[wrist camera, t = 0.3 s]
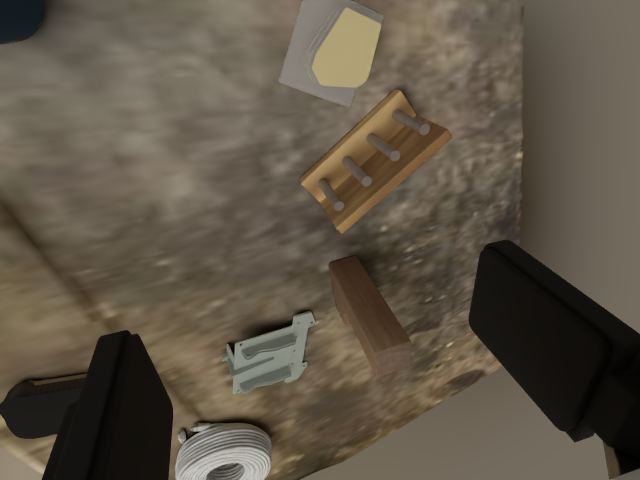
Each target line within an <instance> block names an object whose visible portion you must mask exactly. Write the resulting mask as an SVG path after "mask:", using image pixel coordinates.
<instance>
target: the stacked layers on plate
mask: <svg viewBox="0 0 640 480" xmlns="http://www.w3.org/2000/svg"><path fill="white" fill-rule="evenodd" d="M383 18H384V16H383V15H381V14H379V13H377V12H375V11H373V10H371V9H369V8H367V7H365V6H363V5H361V4H359V3H357V2H355V1H353V0H302V3H301V6H300V10H299V13H298V17H297V20H296V24H295V27H294V30H293V34H292V37H291V41H290V44H289V48H288V51H287V54H286V58H285V61H284V65H283V68H282V72H281V75H280V79H279V82H280V83H282V84H285V85H288V86H291V87H293V88H296V89H299V90H302V91H304V92H307V93H310V94H313V95H315V96H318V97H321V98H324V99H326V100H329V101H332V102H335V103H337V104H340V105H343V106H346V107H348V108H350V106H351V103H352V100H353V98H354V95H355V92H356V90H357V87H359V86H361V85H362V84H363V83H364V82H365V81H366V80H367V78H368V76H369V73H370V69H371V65H372V61H373V57H374V53H375V49H376V45H377V41H378V37H379V33H380V29H381V24H382V21H383Z"/></svg>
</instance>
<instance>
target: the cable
mask: <svg viewBox="0 0 640 480" xmlns="http://www.w3.org/2000/svg"><path fill="white" fill-rule="evenodd" d="M190 430H191V431H194V432H195V431H200V432H199V433H197V434H195V435H194V436H192V437H191V438H189V439H188V440H187V441H186V433H185V431H184V430H181V431H180V432H179V433H178V439H179V441H180V443H181V444H183V445H182V447H181V448H180V450H179V453H178V456H177V461H176V464H175V471H176V480H264V479H265V478H266V477H267V475H268V473H269V471H270V468H271V450H272V442H271V439H270V437H269V435H268V434H267V433H266V432H264V431H263V430H261V429H260V428H258V427H256V426H254V425H251V424H246V423H215V424H210V423H197V425H195V426H193V427H191V428H190ZM185 441H186V442H185Z"/></svg>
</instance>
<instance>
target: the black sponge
mask: <svg viewBox="0 0 640 480" xmlns="http://www.w3.org/2000/svg"><path fill="white" fill-rule="evenodd" d="M86 375H87V374H81V375H74V376H68V377H61V378H55V379H46V380H41V381H31V380H30V381H26V382H22V383H19V384H17V385H15V386H14V387H13V388H12V389H11V390H10V391H9V392H8V394H7V396H6V398H5V399H4V401H3V402H2V403H1V404H0V414H1V416H2V417H3V418H4V420H5V422H6V424H7V426H8V428H9V429H10V430H11V432H12V433H13V434H14V435H15V436H17V437H19V438H25V439H34V438H40V437H45V436H49V435H54V434H58V432H59V429H60V426H61V423H62V420H63V417H64V415H65V412H66V410H67V408H68V406H69V405H70V404H71V403H72V402H74V401H77V400H79V397H80V394H81V391H82V388H83V385H84V382H85V379H86Z"/></svg>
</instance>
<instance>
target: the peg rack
mask: <svg viewBox="0 0 640 480" xmlns="http://www.w3.org/2000/svg"><path fill="white" fill-rule="evenodd" d="M451 138H452V136H451V134H450V133H449V131H448V130H447V129H445V128H443V127H441V126H439V125H437V124H434V123H432V122H430V121H428V120H426V119H424V118H422V117H419V116H417V115H416V114H415V112H414V110H413V109H412V107H411V106H410V104H409V103H408V101H407V99H406V98H405V96H404V95H403V93H402V92H401V91H400V90H398V89H395V90H394V91H392V92H391V93H390V94H389V95H388V96H387V97H386V98H385V99H384V100H383V101H382V102H381V103H380V104H379V105H378V106H376V107H375V108H374V109H373V110H372V111H371V112H370V113H369V114H368V115H367V116H366V117H365V118H364V119H363V120H361V121H360V122H359V123H358V124H357V125H356V126H355V127H354V128H353V129H352V130H351V131H350V132H349V133H348V134H346V135H345V136H344V137H343V138H342V139H341V140H340V141H339V142H338V143H337V144H336V145H335V146H334V147H333V148H331V149H330V150H329V151H328V152H327V153H326V154H325V155H324V156H323V157H322V158H321V159H320V160H319V161H318V162H316V163H315V164H314V165H313V166H312V167H311V168H310V169H309V170H308V171H307V172H306V173H305V174H304V175H303V176H301V177H300V178H299V181H300V183H301V184H302V185H303V186H304V187H305V188H306V189H307V190H308V191H309V192H310V193H311V194H312V195H313V196H314V197H315V198H316V199H317V200H318V201H319V202H320V203H321V205H322V207H323V208H324V210H325V211H326V213H327V215H328V216H329V218H330V219H331V221H332V222H333V224H334V226H335V227H336V229H337V230H338V231H339V232H340V233H341V234H343V233H344V232H345V231H346V230H347V229H349V228H350V227H351V226H352V225H353V224H354V223H355V222H357V221H358V220H359V219H360V218H361V217H362V216H363V215H365V214H366V213H367V212H368V211H369V210H370V209H371V208H372V207H374V206H375V205H376V204H377V203H378V202H379V201H380V200H382V199H383V198H384V197H385V196H386V195H387V194H388V193H390V192H391V191H392V190H393V189H394V188H395V187H396V186H398V185H399V184H400V183H401V182H402V181H403V180H404V179H406V178H407V177H408V176H409V175H410V174H411V173H412V172H413V171H415V170H416V169H417V168H418V167H419V166H420V165H421V164H423V163H424V162H425V161H426V160H427V159H428V158H429V157H431V156H432V155H433V154H434V153H435V152H436V151H437V150H439V149H440V148H441V147H442V146H443V145H444V144H445V143H447V142H448V141H449V140H450V139H451Z"/></svg>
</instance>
